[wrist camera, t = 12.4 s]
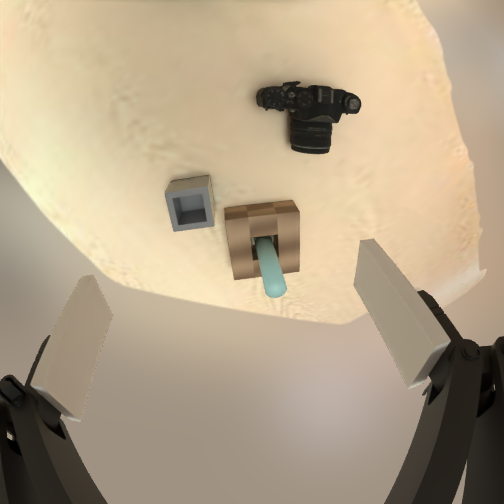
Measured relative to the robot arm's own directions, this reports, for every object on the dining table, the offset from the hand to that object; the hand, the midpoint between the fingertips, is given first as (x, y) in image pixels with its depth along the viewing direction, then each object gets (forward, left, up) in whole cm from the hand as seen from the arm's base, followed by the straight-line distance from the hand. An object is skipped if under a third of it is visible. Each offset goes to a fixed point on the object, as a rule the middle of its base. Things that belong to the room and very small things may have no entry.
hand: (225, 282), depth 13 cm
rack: (+17, +5, -35) cm, 39 cm away
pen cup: (+8, -6, -35) cm, 36 cm away
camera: (-4, +12, -35) cm, 37 cm away
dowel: (+17, +5, -35) cm, 39 cm away
